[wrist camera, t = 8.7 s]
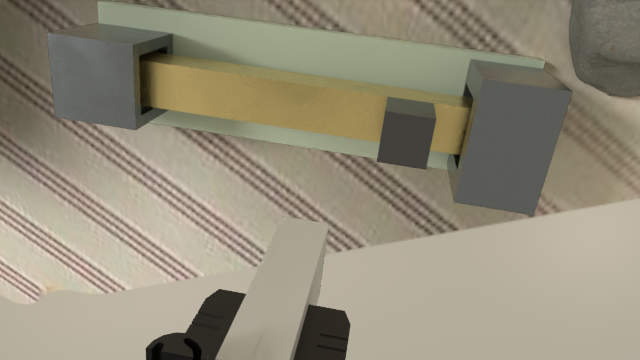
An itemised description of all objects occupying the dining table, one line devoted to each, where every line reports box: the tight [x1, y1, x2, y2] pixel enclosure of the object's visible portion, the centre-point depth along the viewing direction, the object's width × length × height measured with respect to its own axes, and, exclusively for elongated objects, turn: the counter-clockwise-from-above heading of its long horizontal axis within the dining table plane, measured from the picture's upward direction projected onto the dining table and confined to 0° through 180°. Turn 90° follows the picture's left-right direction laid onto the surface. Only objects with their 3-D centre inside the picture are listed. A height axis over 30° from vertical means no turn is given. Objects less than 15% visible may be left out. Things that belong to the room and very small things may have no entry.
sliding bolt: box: [139, 52, 474, 169], centre depth 34 cm, size 28×3×7 cm, turn 83°
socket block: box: [447, 59, 572, 215], centre depth 34 cm, size 5×8×7 cm, turn 173°
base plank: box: [97, 0, 545, 170], centre depth 39 cm, size 33×9×1 cm, turn 83°
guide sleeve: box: [47, 23, 173, 130], centre depth 37 cm, size 6×6×6 cm
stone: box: [569, 0, 640, 97], centre depth 32 cm, size 9×9×10 cm
